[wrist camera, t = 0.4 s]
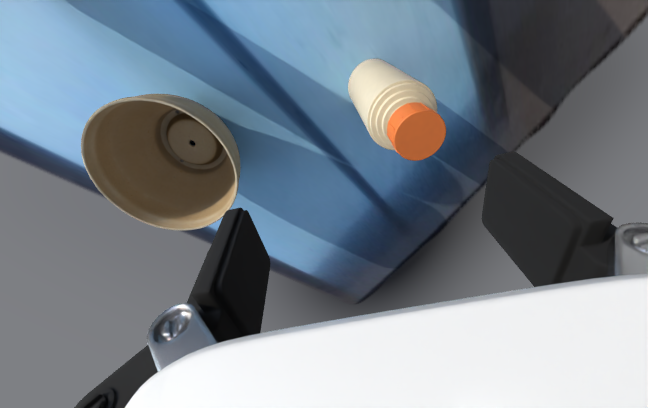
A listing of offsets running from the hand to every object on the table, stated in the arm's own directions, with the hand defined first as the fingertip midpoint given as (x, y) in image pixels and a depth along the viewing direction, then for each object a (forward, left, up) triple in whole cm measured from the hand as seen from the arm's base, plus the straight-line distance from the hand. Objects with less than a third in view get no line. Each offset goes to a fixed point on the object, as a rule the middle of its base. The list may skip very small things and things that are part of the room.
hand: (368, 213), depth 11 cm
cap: (-6, +2, -12) cm, 13 cm away
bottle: (-6, +2, -30) cm, 31 cm away
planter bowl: (+19, +8, -31) cm, 37 cm away
